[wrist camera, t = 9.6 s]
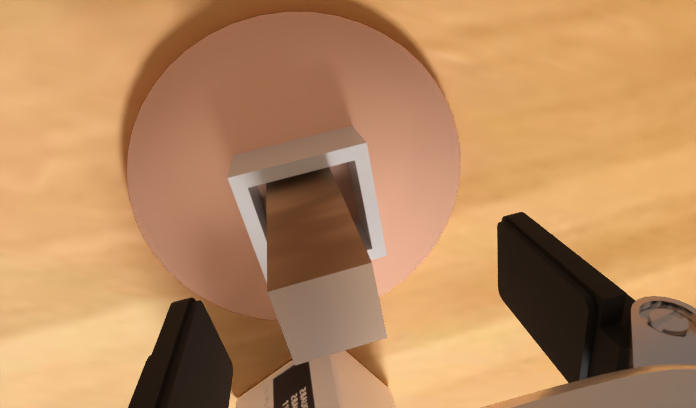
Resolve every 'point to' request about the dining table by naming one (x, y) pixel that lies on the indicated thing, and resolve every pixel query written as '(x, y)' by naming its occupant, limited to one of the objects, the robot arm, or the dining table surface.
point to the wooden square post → (318, 269)
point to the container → (320, 386)
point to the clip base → (289, 150)
